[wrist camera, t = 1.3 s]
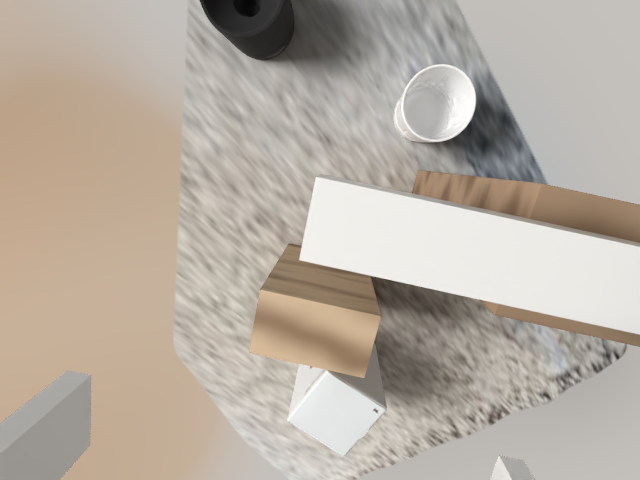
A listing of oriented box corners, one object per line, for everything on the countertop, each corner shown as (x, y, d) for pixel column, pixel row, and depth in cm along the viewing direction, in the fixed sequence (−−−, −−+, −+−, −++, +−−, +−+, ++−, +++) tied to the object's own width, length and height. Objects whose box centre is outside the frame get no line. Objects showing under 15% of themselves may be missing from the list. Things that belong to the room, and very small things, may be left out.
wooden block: (288, 243, 51) (260, 289, 33) (366, 260, 51) (381, 316, 33) (280, 285, 53) (248, 352, 34) (355, 302, 53) (364, 378, 34)
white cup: (457, 98, 45) (489, 81, 36) (431, 154, 47) (455, 152, 37) (403, 75, 45) (421, 52, 35) (379, 133, 47) (389, 125, 37)
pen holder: (224, 58, 46) (193, 30, 36) (230, -21, 44) (199, -73, 34) (292, 68, 46) (280, 42, 36) (301, -11, 43) (290, -61, 34)
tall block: (418, 170, 48) (542, 183, 18) (515, 191, 48) (794, 237, 18) (403, 224, 50) (494, 314, 20) (496, 245, 49) (723, 364, 20)
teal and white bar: (304, 253, 20) (291, 287, 15) (323, 159, 19) (317, 158, 13) (733, 347, 20) (881, 417, 14) (782, 258, 19) (965, 298, 13)
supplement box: (331, 312, 53) (328, 368, 39) (376, 343, 54) (390, 410, 40) (299, 353, 55) (284, 421, 41) (343, 382, 56) (344, 460, 42)
